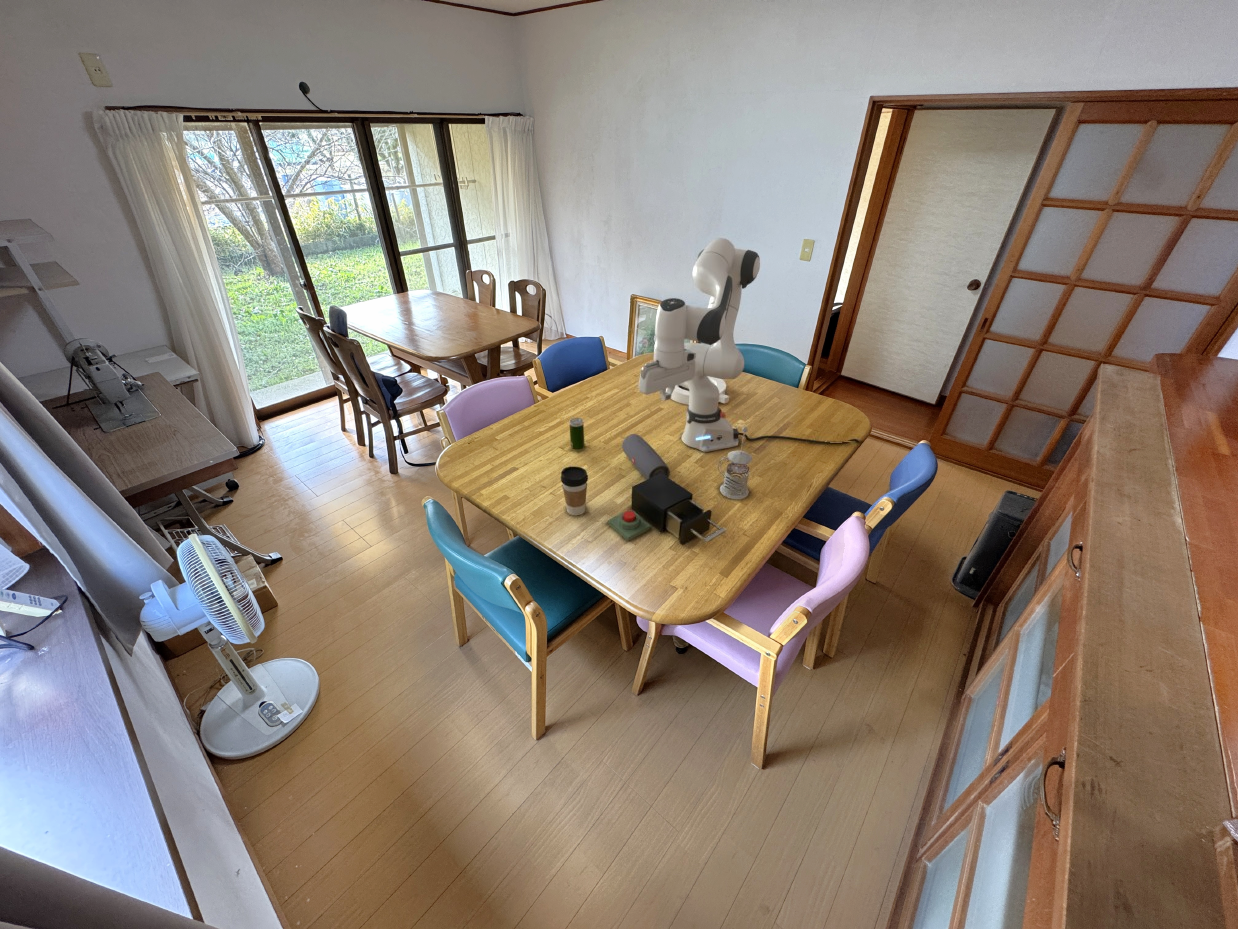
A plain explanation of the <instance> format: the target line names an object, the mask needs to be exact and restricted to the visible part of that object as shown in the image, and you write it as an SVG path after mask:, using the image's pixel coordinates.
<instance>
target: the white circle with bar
mask: <svg viewBox="0 0 1238 929" xmlns="http://www.w3.org/2000/svg"><path fill="white" fill-rule="evenodd" d="M707 377H708V378H709V380H710V381H711V382H712V383H714V384H715V385H716V386H717V388H718V390H719V401H718V403H721V404H723V405H724V404H726V403H729V400H730V396H729V395H727V394H726V390H727V383H726V382H725V380H724V379H719V378H714V377H709V376H707ZM681 387H683V388H681ZM667 389H668V388H666V391H665V393H666V392H667ZM671 400H672V401H674V402H676V403H679V404H683V405H686V406H689V385H688V382H687V381H686V382H683V383H681V384H678V385H675V389H674V391H673V393H672V395H671Z"/></svg>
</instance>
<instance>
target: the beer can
mask: <svg viewBox="0 0 1238 929" xmlns="http://www.w3.org/2000/svg"><path fill="white" fill-rule="evenodd" d="M568 426H569V441H570V448H571V451H575V452H580V451H583V450H584V448H585V425H584V420H583V419H582V418H581V417H573V418H570V419H569V425H568Z"/></svg>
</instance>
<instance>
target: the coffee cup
mask: <svg viewBox="0 0 1238 929" xmlns="http://www.w3.org/2000/svg"><path fill="white" fill-rule="evenodd" d="M588 480H589V475H588V472H587V470H586V469H585V468H584V467H582V466H581V467H580V466H567V467H564V468H563V469H562V470H561V471H560V482H561V483H562V490H563V496H564V502H565V506H566V511H567V514H569V515H571V516H580V515H583V514H584V513H585V512H586V503H587V502H586V501H587V490H588Z"/></svg>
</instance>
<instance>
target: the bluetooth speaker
mask: <svg viewBox="0 0 1238 929" xmlns="http://www.w3.org/2000/svg"><path fill="white" fill-rule="evenodd" d="M621 448H622V451H623V453H624V454H625V456H626V457H627V458H628V460H629V461H630V463H631V464H632V465H633V467H634V468H635V469H636V470H637V471H638V473H639V474H641V476H642V477H643V478H644V479H645V480H647V479H649V478H651V477H654V476H656V475H658V474H660V473H662V474H664V475H665V476H667V477H668V478H670V475H671V471H670V468H669V466H668V465H667V463H666V462H665V461H664V460H663V458H662V457H661V456H660V455H659V454H658V452H657V451H656V450H655V449H654V448H653V447H652V446H651V445H650V444H649V442H647V441H646V440H645V439H644V438H643V437H642V436H641V435H639V434H637V433H632V434H629V435H627V436H626V437H625V438H624V439H623V441H622V443H621Z"/></svg>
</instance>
